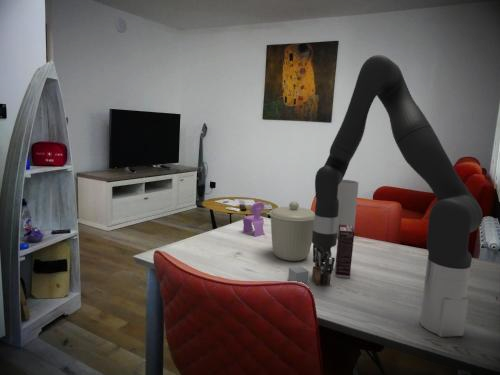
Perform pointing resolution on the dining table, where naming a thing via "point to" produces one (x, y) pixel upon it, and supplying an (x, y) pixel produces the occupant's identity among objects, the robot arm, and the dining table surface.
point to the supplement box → (344, 251)
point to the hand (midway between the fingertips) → (320, 281)
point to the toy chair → (254, 219)
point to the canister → (291, 231)
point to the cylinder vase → (347, 202)
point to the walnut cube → (318, 276)
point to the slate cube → (298, 274)
